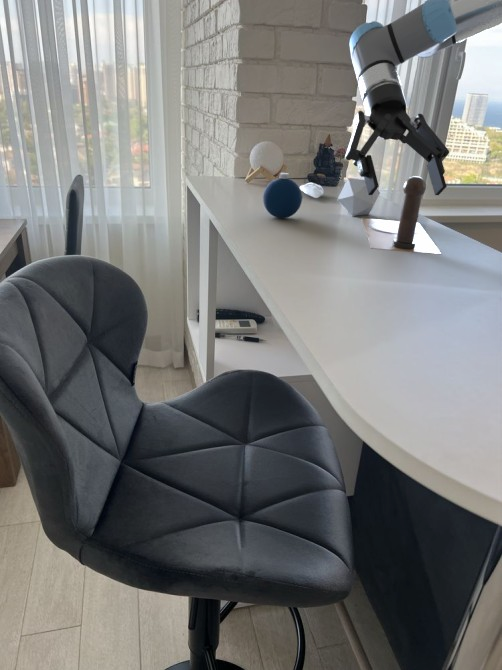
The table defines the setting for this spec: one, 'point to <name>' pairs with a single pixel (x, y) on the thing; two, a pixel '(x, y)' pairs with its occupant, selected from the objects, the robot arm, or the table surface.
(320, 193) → the pincushion
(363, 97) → the robot arm
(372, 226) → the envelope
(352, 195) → the die
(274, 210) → the christmas ornament
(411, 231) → the dot stamp
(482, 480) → the table surface
